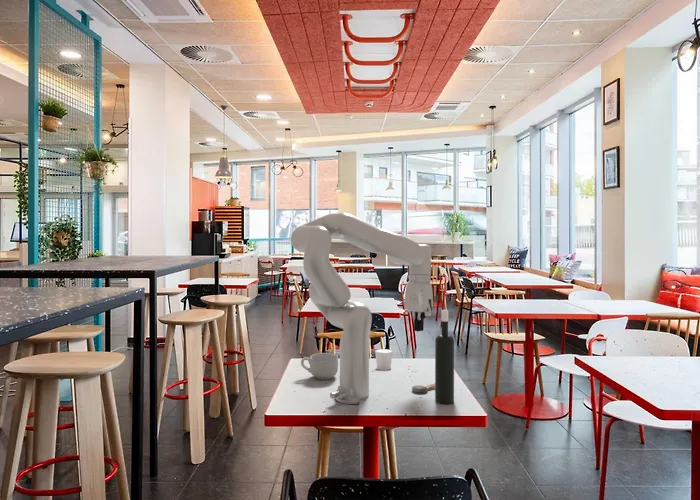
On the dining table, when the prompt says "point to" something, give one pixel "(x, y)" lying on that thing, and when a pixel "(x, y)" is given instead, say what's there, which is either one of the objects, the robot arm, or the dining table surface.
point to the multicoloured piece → (422, 388)
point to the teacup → (322, 365)
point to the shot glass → (383, 359)
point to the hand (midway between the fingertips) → (418, 330)
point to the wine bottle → (444, 364)
